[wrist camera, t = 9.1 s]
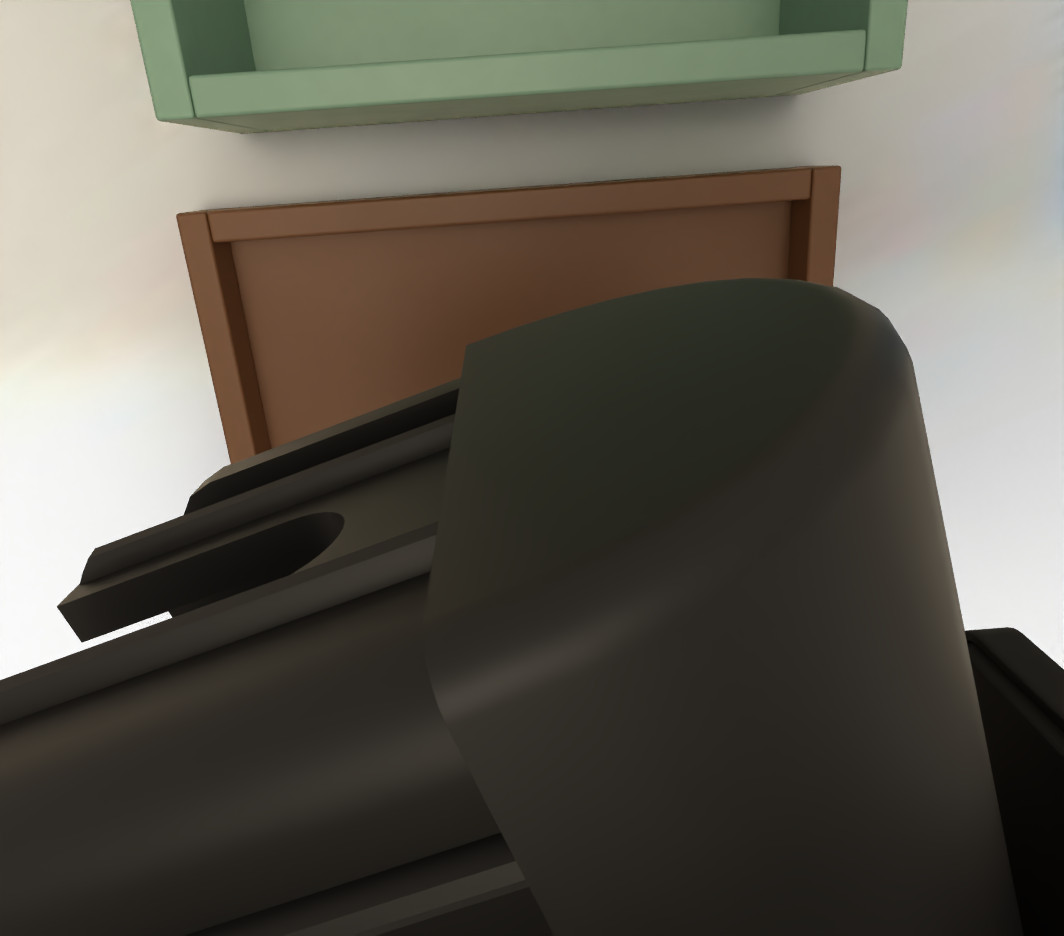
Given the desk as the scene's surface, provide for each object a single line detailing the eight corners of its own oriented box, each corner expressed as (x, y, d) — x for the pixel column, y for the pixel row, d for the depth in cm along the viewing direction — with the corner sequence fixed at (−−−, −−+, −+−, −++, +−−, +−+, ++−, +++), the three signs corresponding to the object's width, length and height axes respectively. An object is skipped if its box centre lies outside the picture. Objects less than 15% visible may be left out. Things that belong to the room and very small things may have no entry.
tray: (813, 166, 22) (842, 165, 21) (787, 604, 28) (809, 635, 26) (201, 210, 22) (174, 213, 20) (292, 645, 27) (277, 680, 25)
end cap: (880, 840, 12) (1279, 1528, 6) (470, 968, 13) (449, 1715, 7) (714, 233, 9) (1243, 380, 3) (164, 445, 10) (-473, 976, 3)
